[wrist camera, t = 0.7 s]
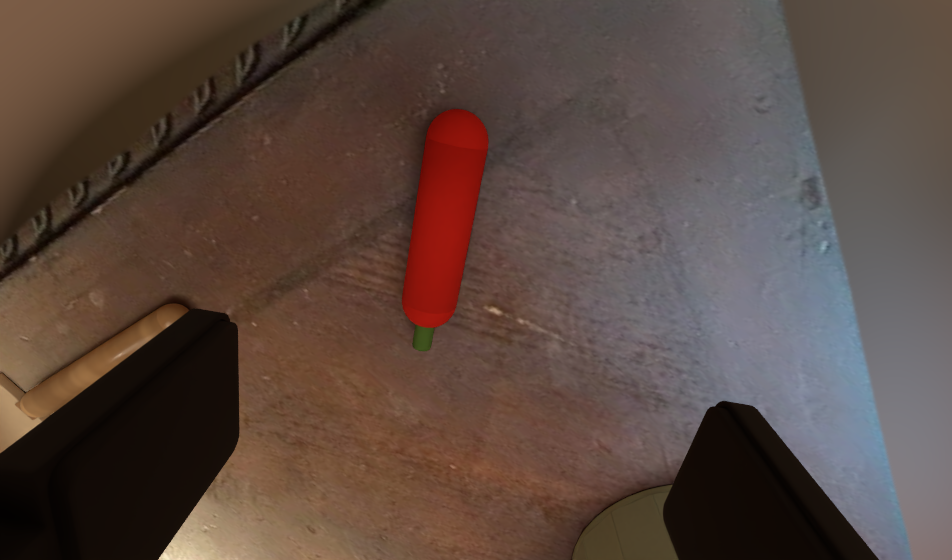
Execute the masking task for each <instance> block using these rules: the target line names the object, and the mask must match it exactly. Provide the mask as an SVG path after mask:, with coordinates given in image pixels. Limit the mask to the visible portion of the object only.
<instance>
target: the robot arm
mask: <svg viewBox="0 0 952 560" xmlns="http://www.w3.org/2000/svg"><path fill="white" fill-rule="evenodd" d="M238 438H239V375H238V328H237V325H236V324H235V323H233V322H230V319H229V317H228V315H227V314H225V313H220V312H214V311H208V310H203V309H191V310H190V311H188V312H187V313H185V314H184V315H183V316H181V317H180V318H179V319H178V320H176V321H175V322H174V323H172V324H171V325H170V326H168V327H167V328H166V329H164V330H163V331H162V332H160V333H159V334H158V335H156V336H155V337H154V338H152V339H151V340H150V341H148V342H147V343H146V344H144V345H143V346H142V347H140V348H139V349H138V350H136V351H135V352H134V353H132V354H131V355H130V356H128V357H127V358H126V359H124V360H123V361H122V362H120V363H119V364H118V365H117V366H115V367H114V368H113V369H111V370H110V371H109V372H107V373H106V374H105V375H103V376H102V377H101V378H99V379H98V380H97V381H95V382H94V383H93V384H91V385H90V386H89V387H87V388H86V389H85V390H83V391H82V392H81V393H79V394H78V395H77V396H75V397H74V398H73V399H71V400H70V401H69V402H67V403H66V404H65V405H63V406H62V407H61V408H60V409H58V410H57V411H56V412H54V413H53V414H52V415H50V416H49V417H48V418H46V419H45V420H44V421H42V422H41V423H40V424H38V425H37V426H36V427H34V428H33V429H32V430H30V431H29V432H28V433H26V434H25V435H24V436H22V437H21V438H20V439H18V440H17V441H16V442H14V443H13V444H12V445H10V446H9V447H8V448H6V449H5V450H4V451H3V452H1V453H0V560H158V559H159V557H160V556H161V555H162V553H163V552H164V550H165V549H166V547H167V546H168V545H169V543H170V542H171V540H172V539H173V537H174V536H175V535H176V533H177V532H178V530H179V529H180V527H181V526H182V525H183V523H184V522H185V520H186V519H187V517H188V516H189V515H190V513H191V512H192V510H193V509H194V507H195V506H196V505H197V503H198V502H199V500H200V499H201V497H202V496H203V495H204V493H205V492H206V490H207V489H208V487H209V486H210V485H211V483H212V482H213V480H214V479H215V477H216V476H217V475H218V473H219V472H220V470H221V469H222V467H223V466H224V465H225V463H226V462H227V460H228V459H229V457H230V456H231V455H232V453H233V451H234V450H235V447H236V445H237V442H238ZM663 520H664V523H665V526H666V529H667V531H668V534H669V536H670V539H671V542H672V544H673V547H674V549H675V552H676V554H677V557H678V559H679V560H879V559H878V558H877V557H876V556H875V554H874V553H873V552H872V551H871V549H870V548H869V547H868V546H867V544H866V543H865V542H864V541H863V539H862V538H861V537H860V536H859V535H858V533H857V532H856V531H855V530H854V528H853V527H852V526H851V525H850V523H849V522H848V521H847V520H846V518H845V517H844V516H843V515H842V514H841V512H840V511H839V510H838V509H837V507H836V506H835V505H834V504H833V502H832V501H831V500H830V499H829V497H828V496H827V495H826V494H825V493H824V491H823V490H822V489H821V488H820V486H819V485H818V484H817V483H816V481H815V480H814V479H813V478H812V476H811V475H810V474H809V473H808V472H807V470H806V469H805V468H804V467H803V465H802V464H801V463H800V462H799V460H798V459H797V458H796V457H795V456H794V454H793V453H792V452H791V451H790V449H789V448H788V447H787V446H786V444H785V443H784V442H783V441H782V439H781V438H780V437H779V436H778V435H777V433H776V432H775V431H774V430H773V428H772V427H771V426H770V425H769V423H768V422H767V421H766V420H765V418H764V417H763V416H762V415H761V414H760V412H759V411H758V410H757V409H756V408H755V407H753V406H750V405H745V404H739V403H733V402H727V401H721V402H719V403H718V404H717V405H716V406H715V407H714V406H713V407H710V408H709V409H708V410H707V412H706V414H705V416H704V418H703V420H702V422H701V424H700V427H699V429H698V431H697V433H696V435H695V437H694V440H693V442H692V444H691V446H690V448H689V450H688V453H687V455H686V457H685V459H684V461H683V463H682V466H681V468H680V470H679V472H678V474H677V476H676V479H675V481H674V483H673V485H672V487H671V490H670V492H669V494H668V496H667V498H666V500H665V503H664V506H663Z"/></svg>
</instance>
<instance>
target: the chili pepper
mask: <svg viewBox="0 0 952 560" xmlns="http://www.w3.org/2000/svg"><path fill="white" fill-rule="evenodd" d="M487 150H488V134H487V131H486V128H485V126H484V124H483V123H482V122H481V120H480V119H479V118H478V117H477V116H476V115H474V114H473V113H471V112H469V111H466V110H462V109H451V110H448V111H445V112H443V113H441V114H439V115H438V116H437V117H436V118H435V119H434V120H433V121H432V123H431V124H430V126H429V128H428V131H427V135H426V140H425V147H424V154H423V161H422V167H421V174H420V181H419V187H418V194H417V201H416V208H415V214H414V221H413V228H412V234H411V241H410V248H409V254H408V261H407V268H406V275H405V281H404V288H403V295H402V305H403V310H404V312H405V314H406V316H407V317H408V318H409V319H410V320H411V321H412V322H413V323H415V324H416V325H415V331H414V337H413V343H412V345H413V347H414V349H416V350H418V351H428V350H429V349H430V348H431V344H432V338H433V333H434V328H435V327H437V326H440V325H442V324H444V323H445V322H447V321H448V320H449V319H450V318H451V317H452V315H453V313H454V311H455V308H456V305H457V300H458V295H459V290H460V285H461V280H462V275H463V270H464V265H465V260H466V255H467V250H468V245H469V240H470V235H471V230H472V225H473V220H474V215H475V210H476V205H477V200H478V195H479V190H480V185H481V180H482V175H483V170H484V165H485V160H486V155H487Z"/></svg>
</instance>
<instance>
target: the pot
mask: <svg viewBox="0 0 952 560" xmlns="http://www.w3.org/2000/svg"><path fill="white" fill-rule="evenodd" d="M671 487H672V485H667V486H661V487H656V488H652V489H649V490H645V491H642V492H639V493H636V494H634V495H631V496H629V497H627V498H625V499H623V500H621V501H619V502H617V503H615V504H613V505H612V506H610V507H609V508H607V509H606V510H604V511H603V512H602V513H601V514H599V515H598V516H597V517H596V518H595V519H594V520H593V521H592V522H591V523H590V524H589V525H588V526H587V527H586V529H585V530H584V531H583V533H582V534H581V536H580V538H579V540H578V542H577V544H576V546H575V549H574V552H573V556H572V560H679V559H678V557H677V554H676V552H675V549H674V547H673V544H672V542H671V539H670V536H669V534H668V531H667V529H666V526H665V523H664V520H663V506H664V503H665V500H666V498H667V496H668V494H669V492H670V490H671Z"/></svg>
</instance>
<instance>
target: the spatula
mask: <svg viewBox="0 0 952 560" xmlns="http://www.w3.org/2000/svg"><path fill="white" fill-rule="evenodd" d="M188 311H189V310H188V309H187V308H186V307H185V306H183V305H180V304H176V303H171V304H166V305H164V306H162V307H160V308H159V309H157V310H155V311H154V312H152V313H151V314H149V315H148V316H146V317H144V318H143V319H141V320H140V321H138V322H136V323H135V324H133V325H132V326H130V327H129V328H127V329H125V330H124V331H122V332H121V333H119V334H118V335H116V336H114V337H113V338H111V339H110V340H108V341H107V342H105V343H103V344H102V345H100V346H99V347H97V348H96V349H94V350H92V351H91V352H89V353H88V354H86V355H85V356H83V357H81V358H80V359H78V360H77V361H75V362H74V363H72V364H70V365H69V366H67V367H66V368H64V369H63V370H61V371H59V372H58V373H56V374H55V375H53V376H51V377H50V378H48V379H47V380H45V381H44V382H42V383H40V384H39V385H37V386H36V387H34V388H33V389H31V390H29V391H28V392H27V393H26V394H25V393H24V392H23V391H22V390H21V389H19V388H18V387H17V386H16V385H15V384H14V383H13V382H12V381H10V380H9V379H8V378H7V377H6V376H5V375H4V374H3V373H1V374H0V453H1V452H3V451H4V450H5V449H6V448H8V447H9V446H10V445H12V444H13V443H14V442H16V441H17V440H18V439H20V438H21V437H22V436H24V435H25V434H26V433H28V432H29V431H30V430H32V429H33V428H34V427H36V426H37V425H38V424H40V423H41V422H42V421H44V420H45V419H46V418H48V417H49V416H50V414H52V413H53V412H55V411H57V410H58V409H60V408H61V407H62V406H63V405H65V404H66V403H67V402H69V401H70V400H71V399H73V398H74V397H75V396H77V395H78V394H79V393H81V392H82V391H83V390H85V389H86V388H87V387H89V386H90V385H91V384H93V383H94V382H95V381H97V380H98V379H99V378H101V377H102V376H103V375H105V374H106V373H107V372H109V371H110V370H111V369H113V368H114V367H115V366H117V365H118V364H119V363H120V362H122V361H123V360H124V359H126V358H127V357H128V356H130V355H131V354H132V353H134V352H135V351H136V350H138V349H139V348H140V347H142V346H143V345H144V344H146V343H147V342H148V341H150V340H151V339H152V338H154V337H155V336H156V335H158V334H159V333H160V332H162V331H163V330H164V329H166V328H167V327H168V326H170V325H171V324H172V323H174V322H175V321H176V320H178V319H179V318H180V317H181V316H183V315H184V314H185V313H187V312H188Z"/></svg>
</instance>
